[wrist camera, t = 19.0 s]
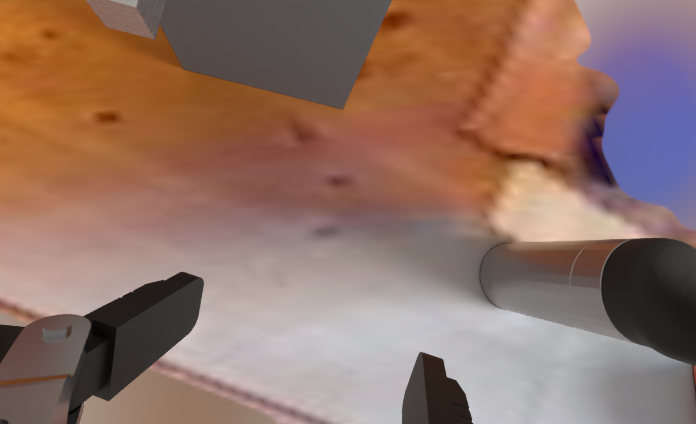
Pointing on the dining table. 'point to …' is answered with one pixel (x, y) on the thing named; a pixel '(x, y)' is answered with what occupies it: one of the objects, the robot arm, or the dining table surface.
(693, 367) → the cracker box
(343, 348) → the dining table surface
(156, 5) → the flanged bar
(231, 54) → the stepped shelf
